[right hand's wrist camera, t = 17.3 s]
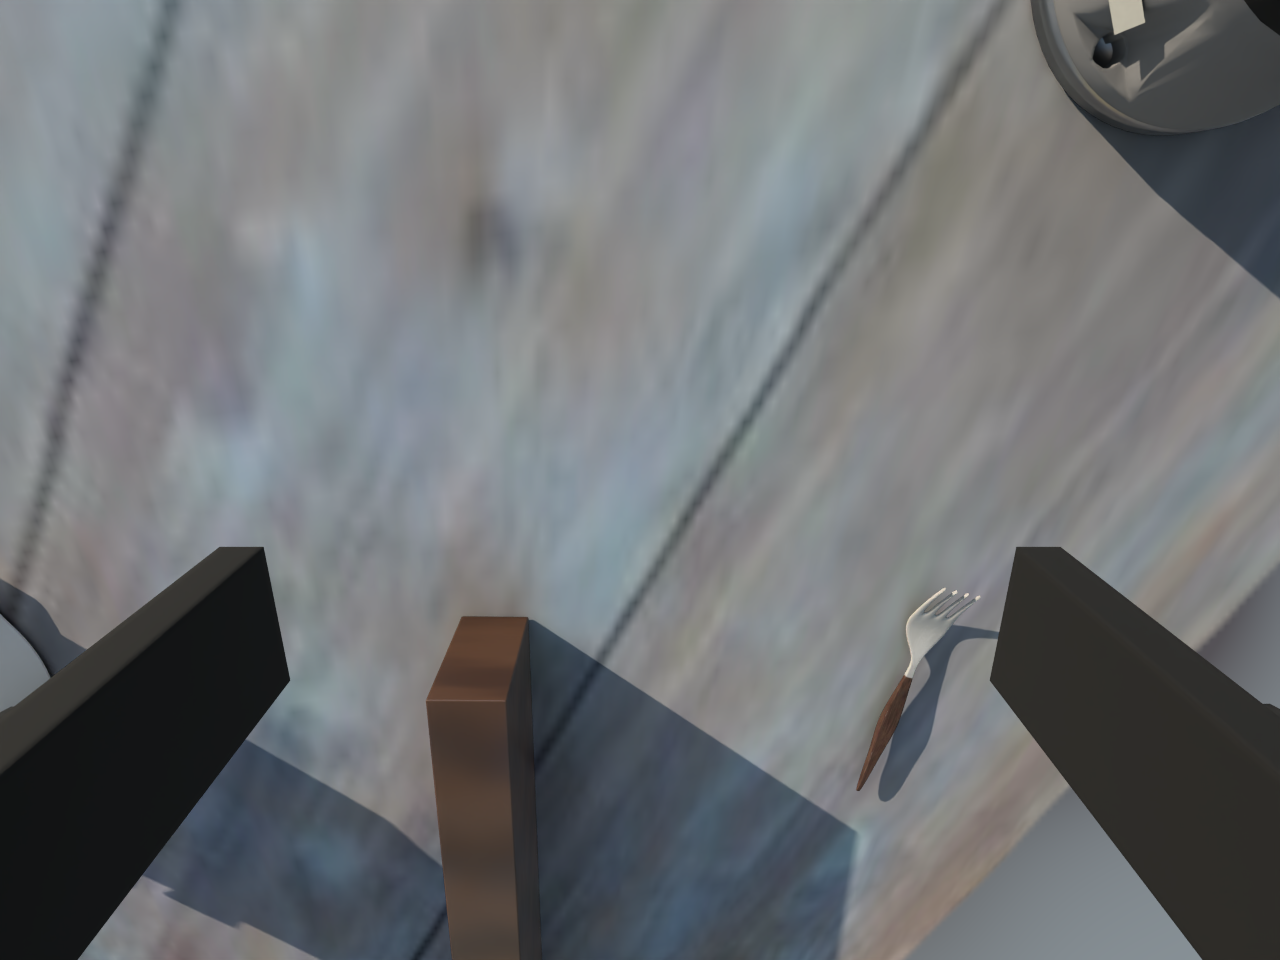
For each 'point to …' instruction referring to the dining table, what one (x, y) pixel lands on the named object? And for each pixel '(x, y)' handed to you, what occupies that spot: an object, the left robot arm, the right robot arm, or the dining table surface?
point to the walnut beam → (487, 790)
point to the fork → (911, 670)
